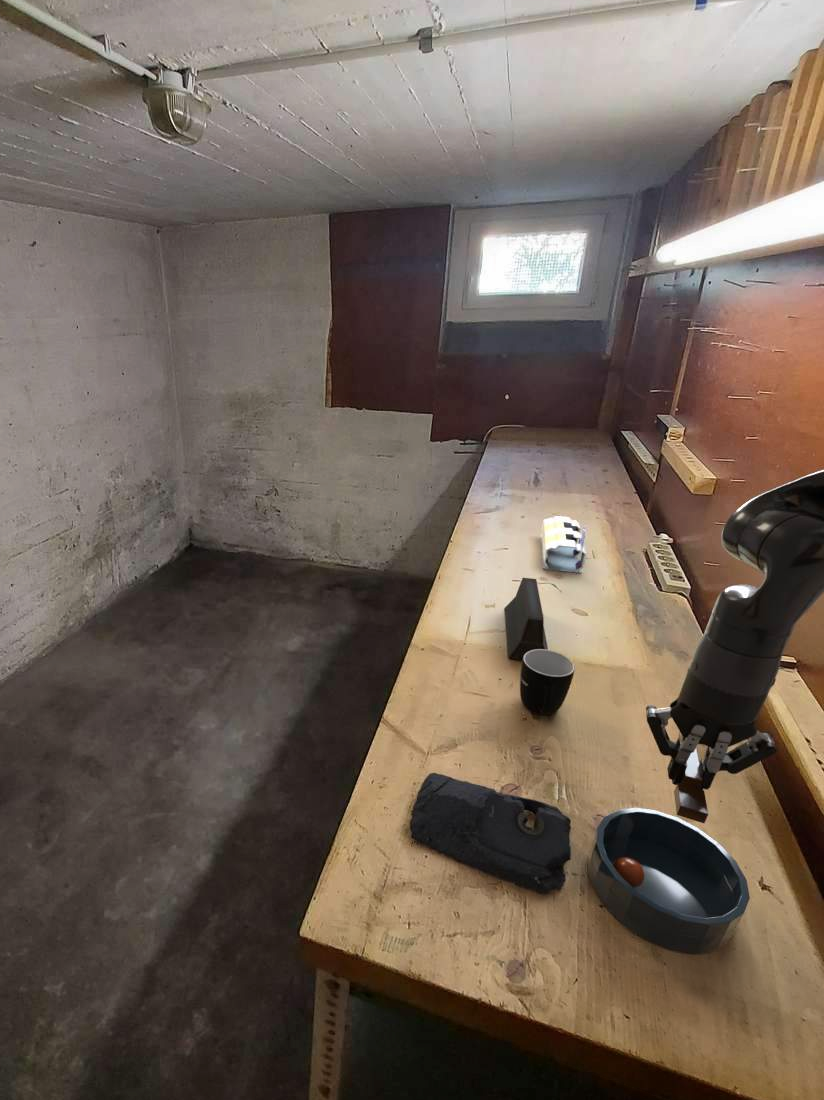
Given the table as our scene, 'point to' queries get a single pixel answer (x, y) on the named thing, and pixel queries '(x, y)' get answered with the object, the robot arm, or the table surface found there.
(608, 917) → the table surface
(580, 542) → the diorama
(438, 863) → the table surface
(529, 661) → the mug
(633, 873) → the bead
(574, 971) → the table surface
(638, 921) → the bowl
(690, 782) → the dark brown wooden bar
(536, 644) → the barrier
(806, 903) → the table surface
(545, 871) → the dark slate chunk
